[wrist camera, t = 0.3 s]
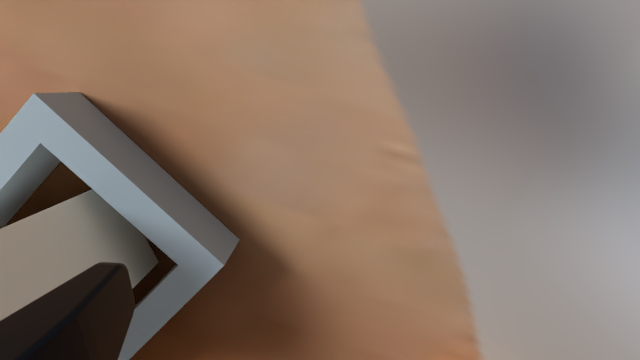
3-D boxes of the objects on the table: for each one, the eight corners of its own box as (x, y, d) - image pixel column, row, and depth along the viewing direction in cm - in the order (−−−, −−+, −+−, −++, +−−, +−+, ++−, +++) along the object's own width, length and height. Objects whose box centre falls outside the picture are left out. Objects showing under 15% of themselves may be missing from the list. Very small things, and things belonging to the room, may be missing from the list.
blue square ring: (111, 367, 25) (77, 410, 22) (-45, 238, 24) (-107, 263, 21) (239, 239, 24) (224, 265, 20) (79, 92, 22) (33, 93, 19)
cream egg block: (158, 262, 24) (-20, 443, 12) (79, 294, 25) (-169, 500, 12) (114, 179, 23) (-127, 283, 11) (33, 215, 24) (-283, 351, 12)
